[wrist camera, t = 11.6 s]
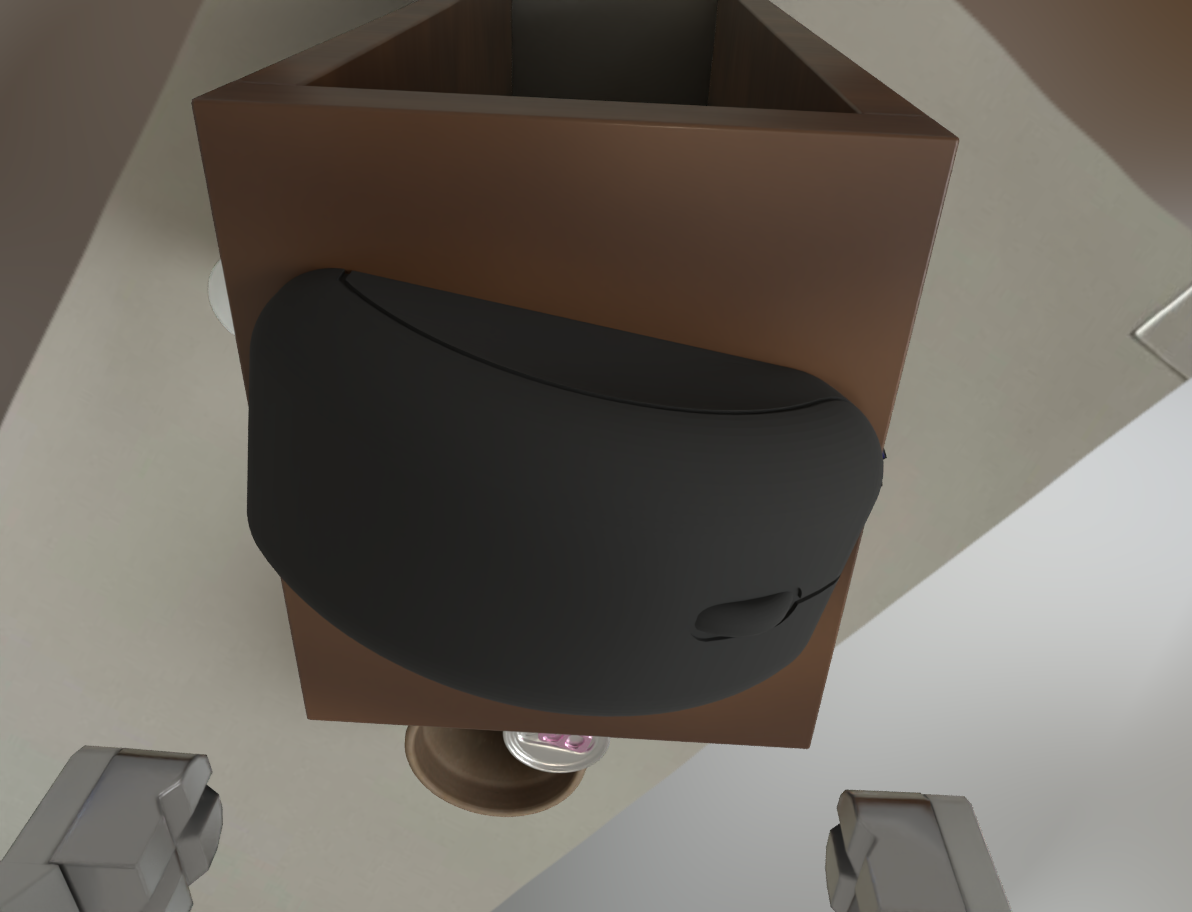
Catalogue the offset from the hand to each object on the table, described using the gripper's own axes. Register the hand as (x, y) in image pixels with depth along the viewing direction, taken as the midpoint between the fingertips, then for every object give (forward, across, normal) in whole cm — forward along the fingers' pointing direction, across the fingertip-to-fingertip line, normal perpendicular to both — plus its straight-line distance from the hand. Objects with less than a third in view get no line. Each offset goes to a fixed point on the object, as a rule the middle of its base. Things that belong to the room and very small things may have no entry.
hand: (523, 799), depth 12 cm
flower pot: (+39, +5, +35) cm, 53 cm away
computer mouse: (+7, 0, -1) cm, 7 cm away
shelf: (+39, 0, 0) cm, 39 cm away
